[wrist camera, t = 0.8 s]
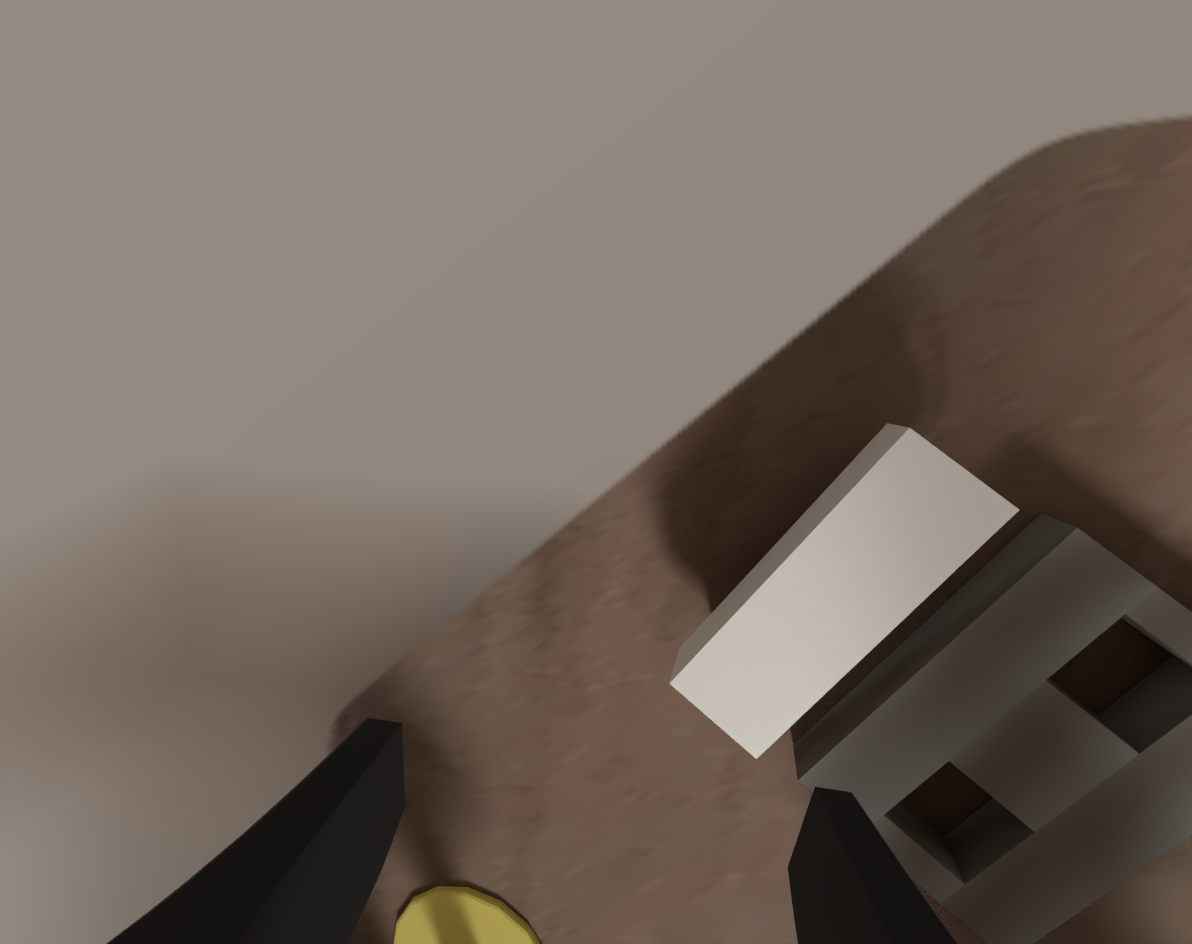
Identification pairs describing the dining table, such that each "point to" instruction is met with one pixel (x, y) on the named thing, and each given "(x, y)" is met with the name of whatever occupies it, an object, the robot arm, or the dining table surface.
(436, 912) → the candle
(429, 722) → the dining table surface
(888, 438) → the cream rectangular block
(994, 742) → the socket board
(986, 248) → the dining table surface
